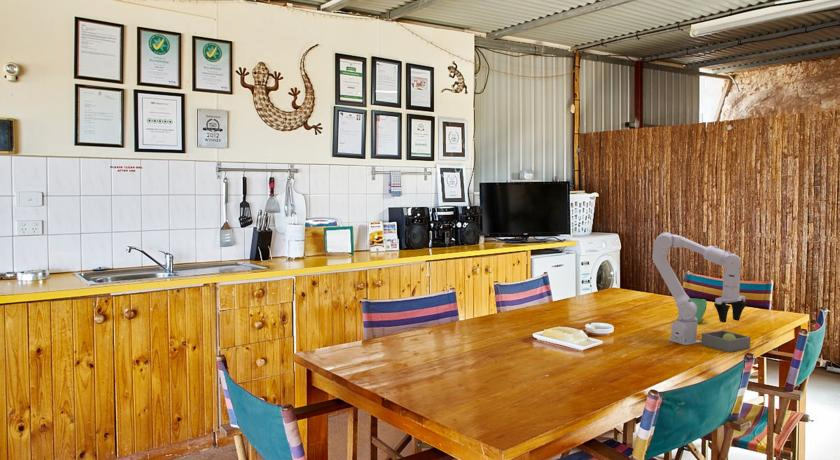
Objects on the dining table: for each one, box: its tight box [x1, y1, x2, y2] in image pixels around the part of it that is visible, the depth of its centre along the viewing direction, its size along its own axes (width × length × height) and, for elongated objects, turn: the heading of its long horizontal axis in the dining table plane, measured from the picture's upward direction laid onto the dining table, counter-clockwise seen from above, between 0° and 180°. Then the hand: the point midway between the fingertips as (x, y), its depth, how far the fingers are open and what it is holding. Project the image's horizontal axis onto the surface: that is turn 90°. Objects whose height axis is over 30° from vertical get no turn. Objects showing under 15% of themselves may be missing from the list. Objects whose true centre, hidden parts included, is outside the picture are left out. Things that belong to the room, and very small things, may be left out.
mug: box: [689, 297, 708, 325], centre depth 283 cm, size 15×10×10 cm
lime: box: [723, 333, 736, 340], centre depth 241 cm, size 5×5×5 cm
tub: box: [700, 329, 751, 354], centre depth 241 cm, size 12×12×4 cm
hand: (729, 321), depth 241 cm, fingers open, 7 cm apart
